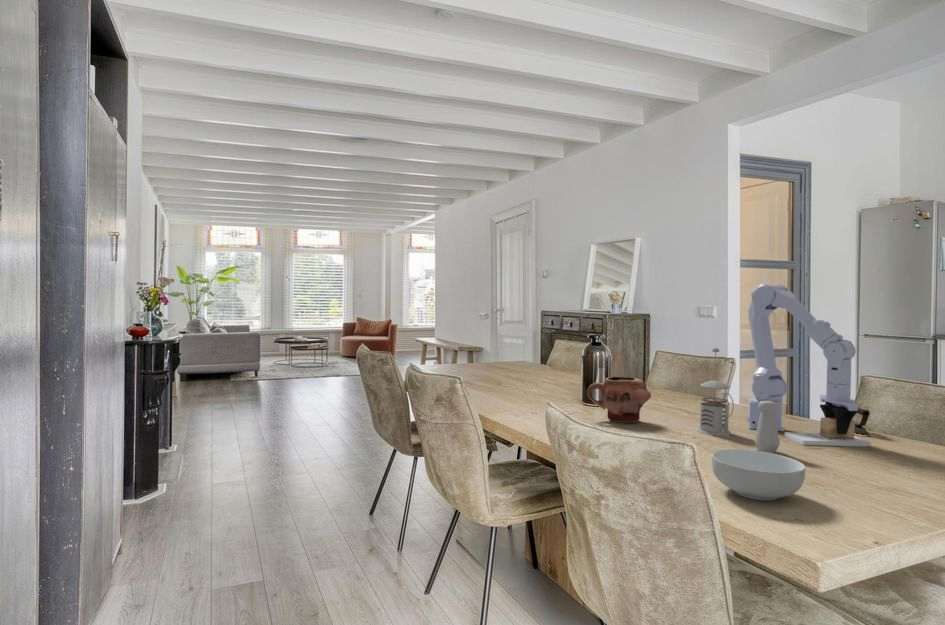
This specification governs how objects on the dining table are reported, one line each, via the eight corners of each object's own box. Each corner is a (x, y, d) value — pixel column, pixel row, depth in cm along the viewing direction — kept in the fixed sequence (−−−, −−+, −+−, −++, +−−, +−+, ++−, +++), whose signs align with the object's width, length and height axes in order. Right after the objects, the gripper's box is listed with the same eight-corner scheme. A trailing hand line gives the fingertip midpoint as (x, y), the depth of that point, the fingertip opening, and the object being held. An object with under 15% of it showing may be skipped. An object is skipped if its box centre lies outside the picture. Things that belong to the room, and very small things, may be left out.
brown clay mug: (589, 423, 182) (590, 379, 182) (584, 416, 194) (584, 374, 194) (654, 425, 181) (655, 380, 181) (644, 417, 193) (645, 375, 193)
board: (802, 444, 159) (802, 440, 159) (784, 436, 169) (784, 432, 169) (870, 446, 158) (870, 442, 158) (848, 437, 168) (848, 433, 168)
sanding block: (828, 438, 161) (828, 420, 161) (820, 435, 165) (820, 417, 165) (854, 439, 161) (854, 421, 161) (845, 435, 165) (846, 418, 165)
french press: (715, 427, 179) (717, 346, 179) (744, 436, 168) (746, 349, 168) (688, 429, 176) (690, 346, 176) (716, 438, 165) (718, 350, 165)
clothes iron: (855, 429, 182) (864, 400, 179) (876, 447, 171) (885, 416, 168) (832, 427, 182) (840, 397, 180) (851, 444, 171) (860, 412, 169)
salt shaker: (778, 450, 152) (780, 400, 152) (780, 455, 147) (781, 404, 147) (754, 447, 155) (755, 398, 155) (754, 452, 150) (755, 402, 149)
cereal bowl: (761, 514, 106) (762, 475, 106) (693, 486, 121) (693, 452, 121) (824, 502, 113) (825, 466, 112) (752, 478, 128) (753, 445, 128)
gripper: (870, 387, 156) (868, 438, 156) (838, 380, 170) (836, 426, 170) (842, 387, 156) (841, 437, 156) (813, 379, 170) (812, 426, 171)
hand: (837, 431), depth 163 cm, fingers closed on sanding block, 4 cm apart
